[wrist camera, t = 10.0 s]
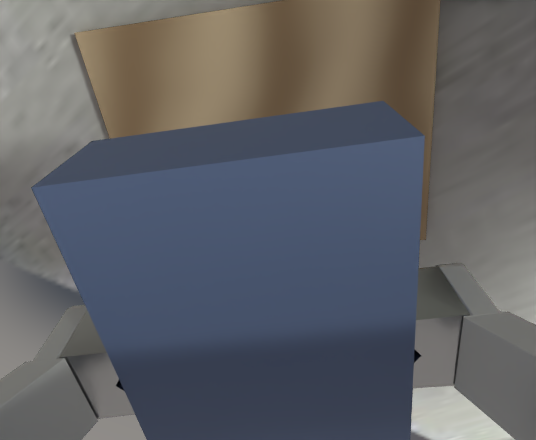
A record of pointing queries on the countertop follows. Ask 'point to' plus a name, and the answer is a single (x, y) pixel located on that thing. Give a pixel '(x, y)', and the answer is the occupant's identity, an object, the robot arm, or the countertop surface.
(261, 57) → the mat
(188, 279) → the box
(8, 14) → the countertop surface
